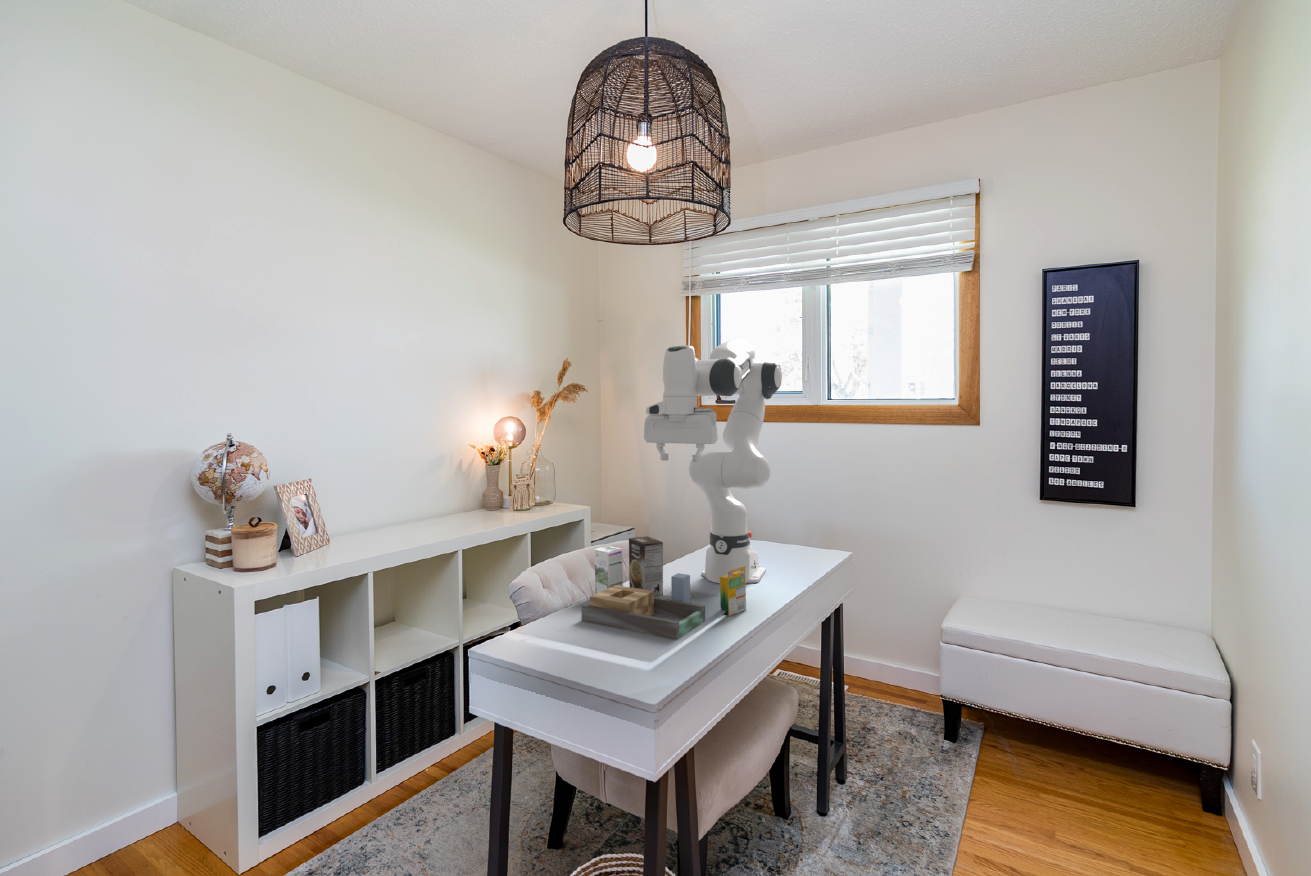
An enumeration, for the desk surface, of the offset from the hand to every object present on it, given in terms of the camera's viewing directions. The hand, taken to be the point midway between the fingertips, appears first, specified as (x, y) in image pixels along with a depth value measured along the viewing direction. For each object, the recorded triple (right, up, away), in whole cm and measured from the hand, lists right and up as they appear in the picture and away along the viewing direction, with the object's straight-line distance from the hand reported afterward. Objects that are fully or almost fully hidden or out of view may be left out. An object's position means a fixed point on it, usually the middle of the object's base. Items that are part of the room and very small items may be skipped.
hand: (680, 461), depth 167 cm
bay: (-9, -40, -11) cm, 42 cm away
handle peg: (0, -39, -3) cm, 39 cm away
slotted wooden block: (-15, -38, -8) cm, 42 cm away
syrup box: (-19, -39, +10) cm, 45 cm away
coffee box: (-9, -39, +13) cm, 42 cm away
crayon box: (+14, -39, -1) cm, 42 cm away
